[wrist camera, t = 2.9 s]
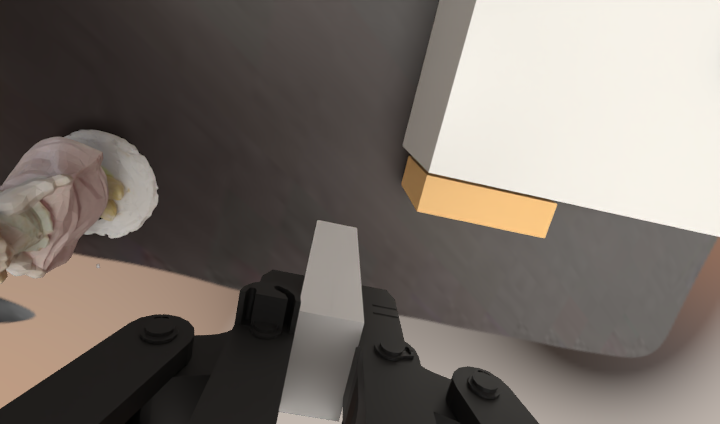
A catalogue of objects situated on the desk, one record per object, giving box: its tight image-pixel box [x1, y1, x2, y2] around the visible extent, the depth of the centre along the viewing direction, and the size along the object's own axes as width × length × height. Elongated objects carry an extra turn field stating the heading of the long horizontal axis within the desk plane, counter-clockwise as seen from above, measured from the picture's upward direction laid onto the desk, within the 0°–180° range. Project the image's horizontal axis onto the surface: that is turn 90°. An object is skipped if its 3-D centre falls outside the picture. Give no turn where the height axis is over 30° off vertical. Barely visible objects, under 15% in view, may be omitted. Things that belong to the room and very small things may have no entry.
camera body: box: [402, 0, 720, 237], centre depth 25 cm, size 21×12×11 cm, turn 77°
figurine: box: [0, 129, 159, 284], centre depth 25 cm, size 11×10×15 cm
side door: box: [401, 156, 557, 238], centre depth 28 cm, size 8×2×7 cm, turn 77°
